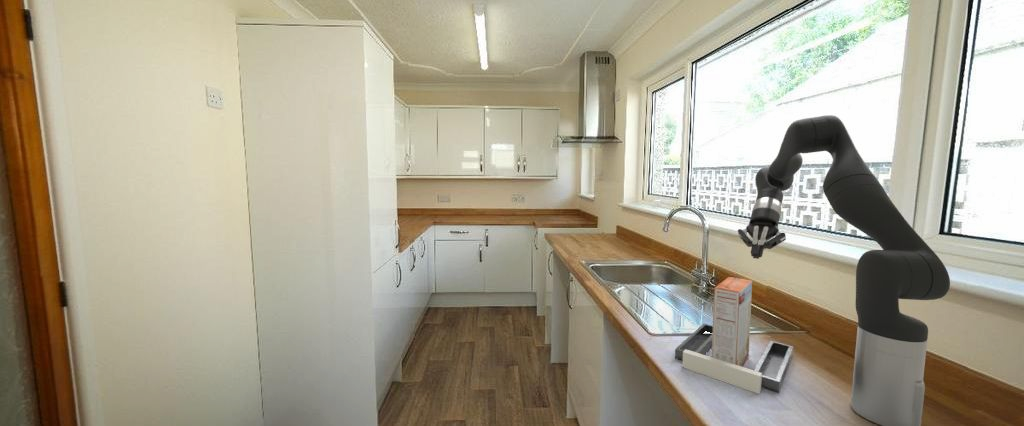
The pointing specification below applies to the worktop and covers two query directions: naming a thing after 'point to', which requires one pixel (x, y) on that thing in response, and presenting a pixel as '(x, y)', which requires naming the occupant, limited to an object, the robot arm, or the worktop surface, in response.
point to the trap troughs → (769, 364)
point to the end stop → (722, 371)
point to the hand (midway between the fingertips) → (755, 256)
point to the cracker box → (732, 320)
